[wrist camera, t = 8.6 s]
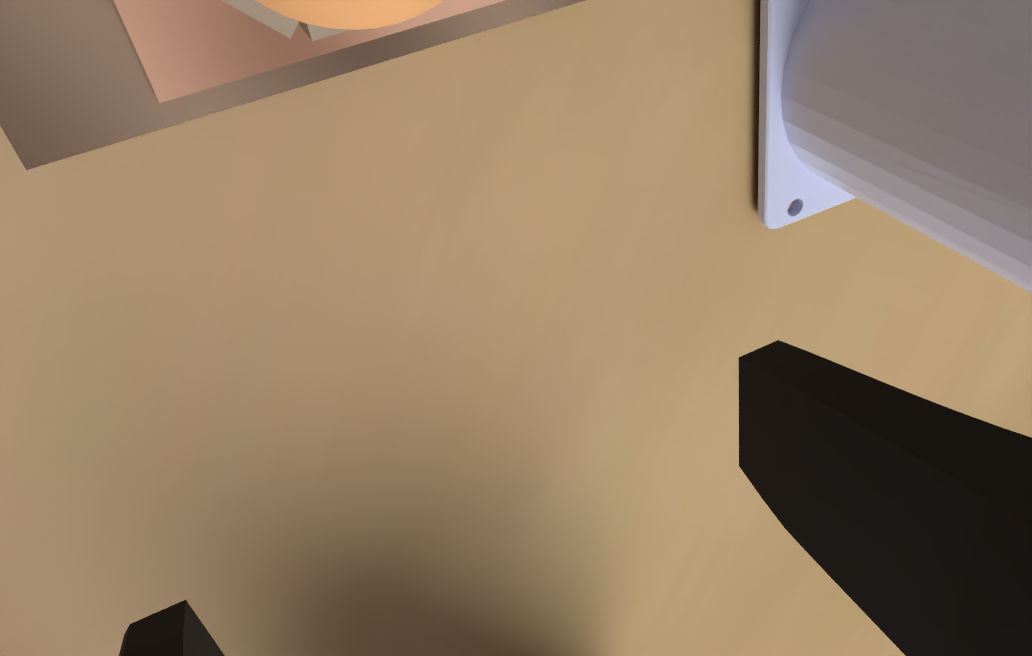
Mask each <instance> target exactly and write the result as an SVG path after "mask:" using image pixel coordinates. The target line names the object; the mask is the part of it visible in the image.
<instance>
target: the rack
mask: <svg viewBox="0 0 1032 656" xmlns="http://www.w3.org/2000/svg"><path fill="white" fill-rule="evenodd" d="M581 1H584V0H443V1H442V2H441V3H439V4H438V5H436V6H435V7H433V8H432V9H430V10H428V11H426V12H424V13H422V14H420V15H418V16H417V17H414V18H411V19H409V20H406V21H403V22H401V23H398V24H394V25H389V26H385V27H380V28H374V29H361V30H349V29H333V28H326V27H321V26H316V25H311V24H306V23H303V22H300V21H297V20H295V19H292V18H289V17H286V16H284V15H282V14H280V13H277V12H275V11H273V10H271V9H269V8H267V7H265V6H263V5H262V4H260V3H259V2H257V1H256V0H0V125H1V127H2V129H3V131H4V132H5V134H6V136H7V137H8V139H9V141H10V143H11V144H12V146H13V148H14V150H15V151H16V153H17V155H18V156H19V158H20V160H21V162H22V163H23V165H24V167H25V168H26V170H28V169H31V168H35V167H38V166H41V165H45V164H48V163H51V162H54V161H58V160H61V159H64V158H68V157H71V156H74V155H77V154H81V153H84V152H87V151H91V150H94V149H97V148H100V147H104V146H107V145H110V144H114V143H117V142H120V141H124V140H127V139H130V138H133V137H137V136H140V135H143V134H147V133H150V132H153V131H156V130H160V129H163V128H166V127H170V126H173V125H176V124H179V123H183V122H186V121H189V120H193V119H196V118H199V117H203V116H206V115H209V114H212V113H216V112H219V111H222V110H226V109H229V108H232V107H235V106H239V105H242V104H245V103H249V102H252V101H255V100H259V99H262V98H265V97H268V96H272V95H275V94H278V93H282V92H285V91H288V90H291V89H295V88H298V87H301V86H305V85H308V84H311V83H314V82H318V81H321V80H324V79H328V78H331V77H334V76H338V75H341V74H344V73H347V72H351V71H354V70H357V69H361V68H364V67H367V66H370V65H374V64H377V63H380V62H384V61H387V60H390V59H394V58H397V57H400V56H403V55H407V54H410V53H413V52H417V51H420V50H423V49H426V48H430V47H433V46H436V45H440V44H443V43H446V42H449V41H453V40H456V39H459V38H463V37H466V36H469V35H473V34H476V33H479V32H482V31H486V30H489V29H492V28H496V27H499V26H502V25H505V24H509V23H512V22H515V21H519V20H522V19H525V18H528V17H532V16H535V15H538V14H542V13H545V12H548V11H552V10H555V9H558V8H561V7H565V6H568V5H571V4H575V3H578V2H581Z"/></svg>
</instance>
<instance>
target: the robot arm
mask: <svg viewBox="0 0 1032 656" xmlns="http://www.w3.org/2000/svg"><path fill="white" fill-rule="evenodd" d="M856 197H857V198H859V199H861V200H862V201H864V202H866V203H868V204H870V205H871V206H873V207H875V208H877V209H879V210H881V211H882V212H884V213H886V214H888V215H890V216H892V217H893V218H895V219H897V220H899V221H901V222H903V223H904V224H906V225H908V226H910V227H912V228H914V229H915V230H917V231H919V232H921V233H923V234H925V235H926V236H928V237H930V238H932V239H934V240H936V241H937V242H939V243H941V244H943V245H945V246H947V247H948V248H950V249H952V250H954V251H956V252H957V253H959V254H961V255H963V256H965V257H967V258H968V259H970V260H972V261H974V262H976V263H978V264H979V265H981V266H983V267H985V268H987V269H989V270H990V271H992V272H994V273H996V274H998V275H1000V276H1001V277H1003V278H1005V279H1007V280H1009V281H1011V282H1012V283H1014V284H1016V285H1018V286H1020V287H1022V288H1023V289H1025V290H1027V291H1029V292H1031V293H1032V0H761V8H760V84H759V160H758V218H759V221H760V222H761V223H762V224H764V225H765V226H767V227H768V228H771V229H777V228H780V227H783V226H785V225H788V224H790V223H793V222H796V221H798V220H801V219H803V218H806V217H808V216H811V215H813V214H816V213H818V212H821V211H823V210H826V209H829V208H831V207H834V206H836V205H839V204H841V203H844V202H846V201H849V200H851V199H854V198H856ZM792 201H794V202H793V204H792V206H791V207H790V208H789V209H788V207H789V205H790V204H791V202H792ZM739 466H740V468H741V469H742V471H743V472H744V473H745V475H746V476H747V478H748V479H749V480H750V482H751V483H752V485H753V486H754V487H755V489H756V490H757V492H758V493H759V494H760V496H761V497H762V499H763V500H764V501H765V503H766V504H767V505H768V507H769V508H770V509H771V511H772V512H773V513H774V515H775V516H776V517H777V518H778V520H779V521H780V522H781V524H782V525H783V526H784V528H785V529H786V530H787V531H788V532H789V533H790V534H791V535H792V536H793V537H794V539H795V540H796V541H797V542H798V543H799V544H800V545H801V546H802V547H803V548H804V549H805V550H806V551H807V552H808V554H809V555H810V556H811V557H812V558H813V559H814V560H815V561H816V562H817V563H818V564H819V565H820V566H821V567H822V568H823V570H824V571H825V572H826V573H827V574H828V575H829V576H830V577H831V578H832V579H833V580H834V581H835V582H836V583H837V584H838V585H839V586H840V587H841V588H842V589H843V591H844V592H845V593H846V594H847V595H848V596H849V597H850V598H851V599H852V600H853V601H854V602H855V603H856V604H857V605H858V606H859V607H860V608H861V609H862V610H863V611H864V613H865V614H866V615H867V616H868V617H869V618H870V619H871V620H872V621H873V622H874V623H875V624H876V625H877V626H878V627H879V628H880V629H881V630H882V631H883V632H884V633H885V635H886V636H887V637H888V638H889V639H890V640H891V641H892V642H893V643H894V644H895V645H896V646H897V647H898V648H899V649H900V650H901V651H902V652H903V653H904V654H905V655H906V656H1032V438H1031V437H1028V436H1025V435H1022V434H1019V433H1016V432H1013V431H1010V430H1007V429H1004V428H1001V427H998V426H996V425H993V424H990V423H987V422H985V421H982V420H979V419H976V418H974V417H971V416H968V415H965V414H963V413H960V412H957V411H955V410H952V409H949V408H947V407H944V406H942V405H939V404H936V403H934V402H931V401H929V400H926V399H924V398H921V397H918V396H916V395H913V394H911V393H908V392H906V391H903V390H901V389H898V388H896V387H893V386H891V385H888V384H886V383H884V382H881V381H879V380H876V379H874V378H871V377H869V376H866V375H864V374H861V373H859V372H857V371H854V370H852V369H849V368H847V367H844V366H842V365H840V364H837V363H835V362H832V361H830V360H827V359H825V358H822V357H820V356H817V355H815V354H813V353H810V352H808V351H805V350H802V349H800V348H797V347H795V346H792V345H789V344H787V343H784V342H782V341H779V340H778V341H775V342H773V343H771V344H769V345H766V346H764V347H762V348H759V349H757V350H755V351H753V352H750V353H748V354H746V355H743V356H741V357H739ZM119 656H224V654H223V653H222V651H221V650H220V648H219V647H218V645H217V644H216V643H215V641H214V640H213V638H212V637H211V635H210V634H209V633H208V631H207V630H206V628H205V627H204V625H203V624H202V622H201V621H200V620H199V618H198V617H197V615H196V614H195V612H194V611H193V609H192V608H191V607H190V605H189V604H188V602H187V601H186V600H184V601H182V602H180V603H177V604H175V605H173V606H170V607H168V608H166V609H164V610H161V611H159V612H157V613H154V614H152V615H150V616H148V617H145V618H143V619H141V620H139V621H136V622H134V623H132V624H130V625H129V627H128V629H127V631H126V633H125V634H124V638H123V642H122V646H121V650H120V654H119Z"/></svg>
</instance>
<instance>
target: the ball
mask: <svg viewBox="0 0 1032 656" xmlns="http://www.w3.org/2000/svg"><path fill="white" fill-rule="evenodd" d="M256 1H257V2H259V3H260V4H262V5H263V6H265V7H267V8H269V9H271V10H273V11H275V12H277V13H280V14H282V15H284V16H286V17H289V18H292V19H295V20H297V21H300V22H303V23H306V24H311V25H316V26H321V27H326V28H333V29H349V30H361V29H374V28H380V27H385V26H389V25H394V24H398V23H401V22H403V21H406V20H409V19H411V18H414V17H417V16H418V15H420V14H422V13H424V12H426V11H428V10H430V9H432V8H433V7H435V6H436V5H438V4H439V3H441V2H442V1H443V0H256Z"/></svg>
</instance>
